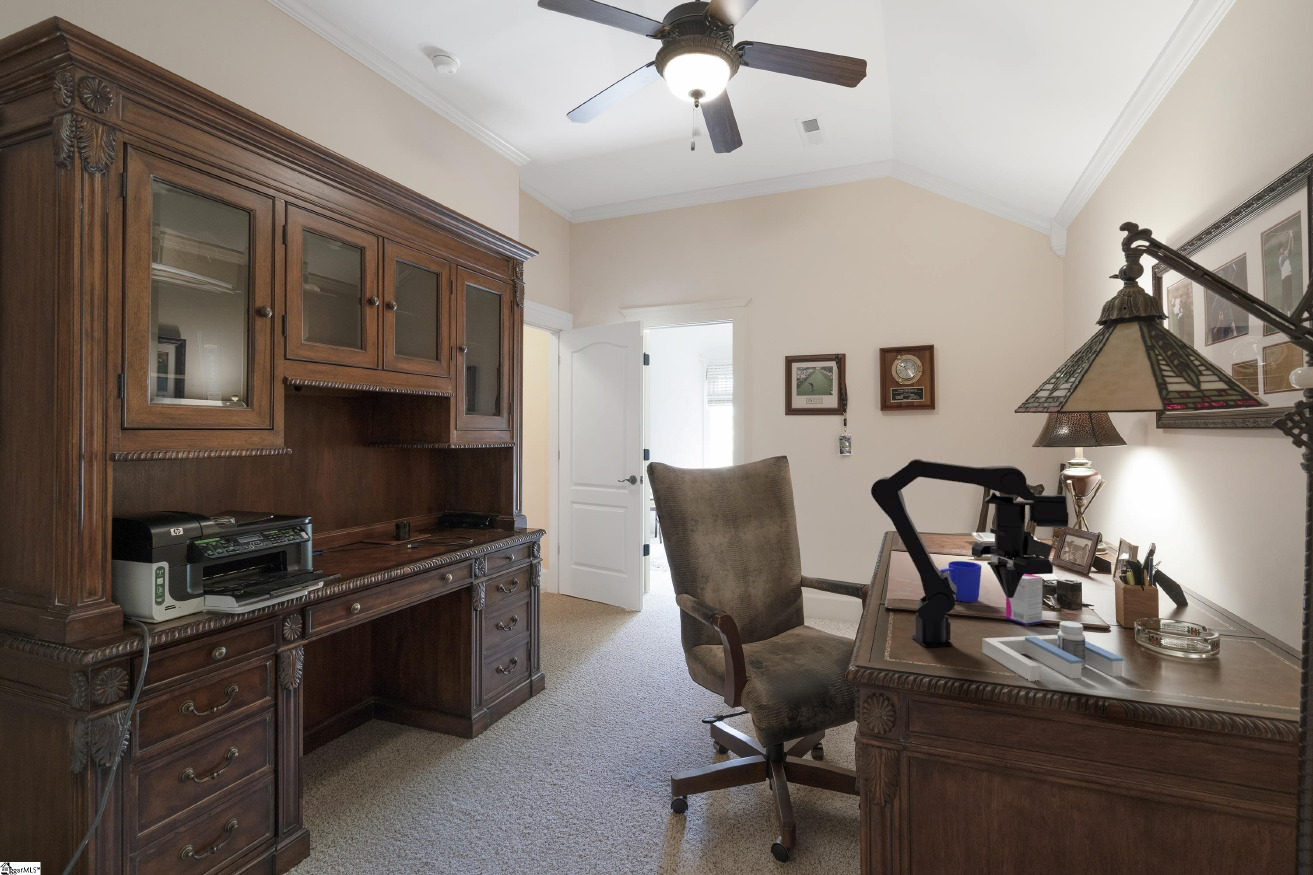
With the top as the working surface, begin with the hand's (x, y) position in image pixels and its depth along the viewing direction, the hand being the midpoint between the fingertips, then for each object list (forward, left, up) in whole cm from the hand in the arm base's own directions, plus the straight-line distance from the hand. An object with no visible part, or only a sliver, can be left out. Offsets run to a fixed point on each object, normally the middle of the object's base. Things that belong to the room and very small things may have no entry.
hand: (1009, 597), depth 133 cm
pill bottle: (+8, -7, -12) cm, 16 cm away
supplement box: (+17, +19, -12) cm, 28 cm away
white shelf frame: (+4, -7, -12) cm, 14 cm away
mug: (+11, +37, -12) cm, 40 cm away
